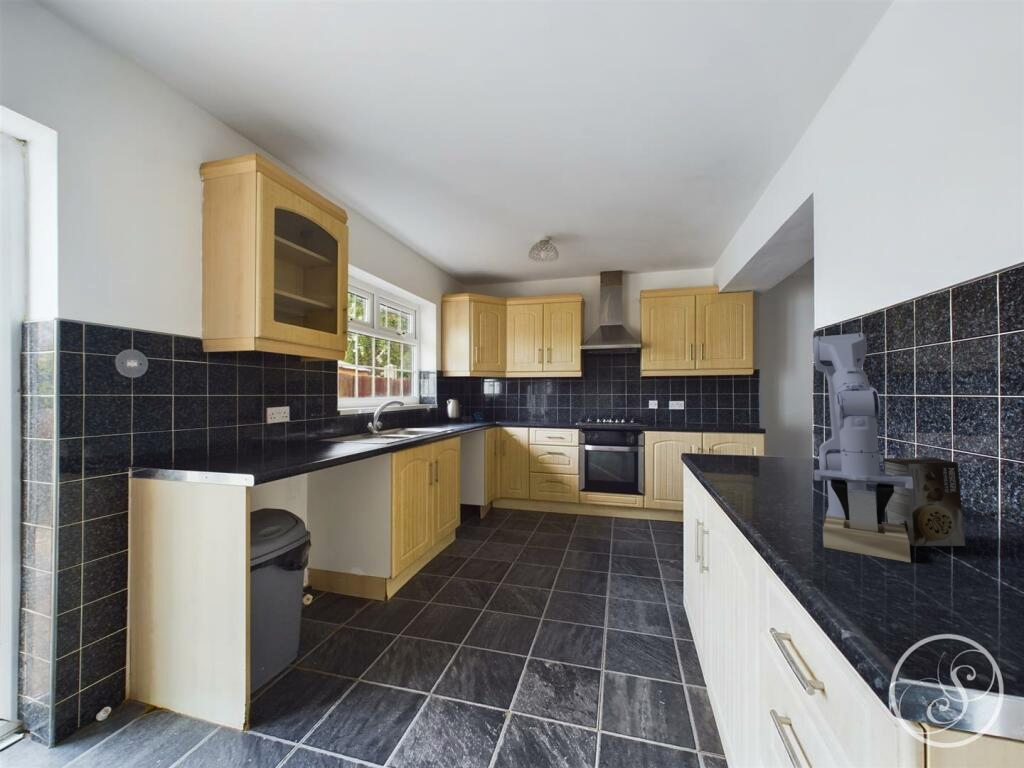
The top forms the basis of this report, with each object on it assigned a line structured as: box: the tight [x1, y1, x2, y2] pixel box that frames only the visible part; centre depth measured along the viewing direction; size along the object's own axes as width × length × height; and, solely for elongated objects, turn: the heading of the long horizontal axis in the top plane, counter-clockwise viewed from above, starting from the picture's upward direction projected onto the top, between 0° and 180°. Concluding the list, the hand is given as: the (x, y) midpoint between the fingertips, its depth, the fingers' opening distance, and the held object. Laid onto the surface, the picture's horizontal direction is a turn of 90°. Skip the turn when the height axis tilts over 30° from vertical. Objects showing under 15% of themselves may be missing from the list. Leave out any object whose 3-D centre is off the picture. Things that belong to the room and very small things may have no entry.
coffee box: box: [883, 457, 966, 547], centre depth 80 cm, size 9×6×16 cm
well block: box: [822, 515, 912, 563], centre depth 78 cm, size 12×12×4 cm
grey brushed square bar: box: [848, 489, 878, 533], centre depth 78 cm, size 4×4×9 cm
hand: (863, 521), depth 79 cm, fingers closed on grey brushed square bar, 4 cm apart
